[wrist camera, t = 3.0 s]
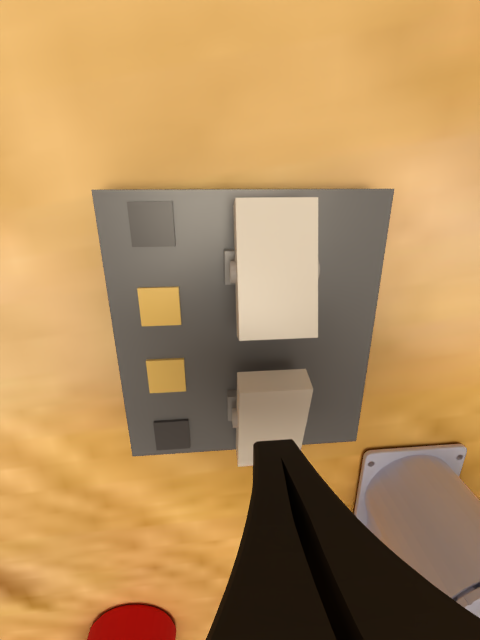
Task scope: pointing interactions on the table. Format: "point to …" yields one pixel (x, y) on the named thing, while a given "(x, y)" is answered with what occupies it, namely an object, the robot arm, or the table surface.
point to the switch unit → (230, 312)
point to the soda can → (133, 624)
